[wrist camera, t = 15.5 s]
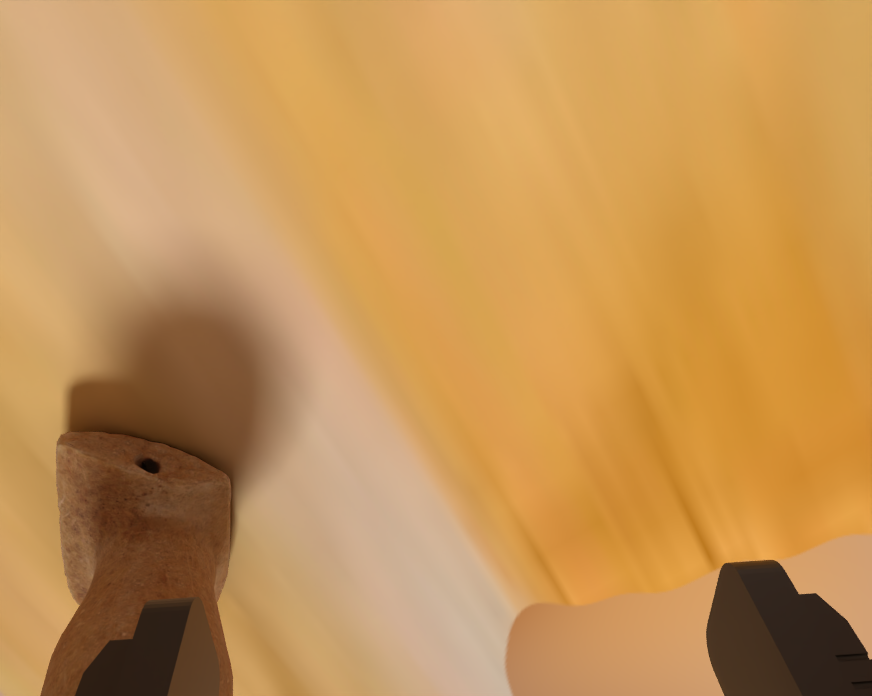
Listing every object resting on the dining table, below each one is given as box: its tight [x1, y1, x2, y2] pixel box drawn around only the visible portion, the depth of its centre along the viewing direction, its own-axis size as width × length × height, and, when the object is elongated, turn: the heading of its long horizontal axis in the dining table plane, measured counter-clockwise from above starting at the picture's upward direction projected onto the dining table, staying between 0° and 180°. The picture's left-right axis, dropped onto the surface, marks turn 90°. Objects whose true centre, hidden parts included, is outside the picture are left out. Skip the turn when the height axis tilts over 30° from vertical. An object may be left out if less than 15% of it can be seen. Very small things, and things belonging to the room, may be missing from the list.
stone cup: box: [41, 432, 233, 696], centre depth 41 cm, size 15×12×15 cm
